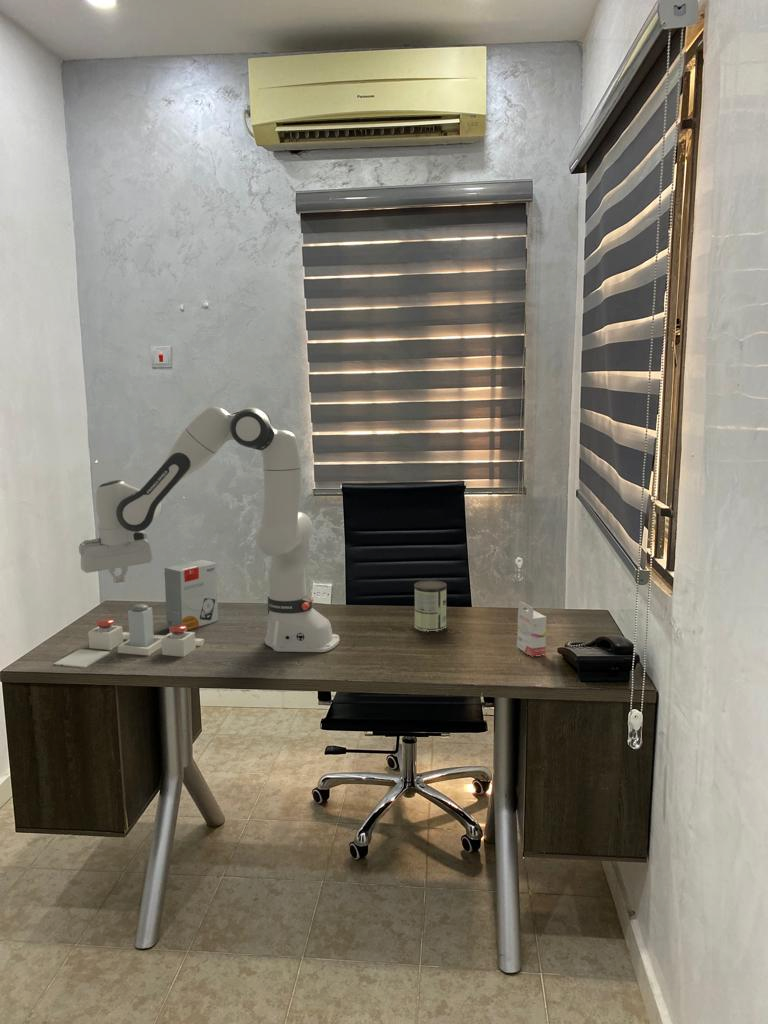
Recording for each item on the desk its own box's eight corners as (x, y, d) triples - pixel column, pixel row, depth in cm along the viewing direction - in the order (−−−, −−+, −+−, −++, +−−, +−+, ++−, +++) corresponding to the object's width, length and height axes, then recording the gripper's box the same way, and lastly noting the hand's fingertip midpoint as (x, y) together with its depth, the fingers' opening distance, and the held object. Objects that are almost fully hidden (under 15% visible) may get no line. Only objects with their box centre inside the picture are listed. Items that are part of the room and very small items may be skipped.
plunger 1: (118, 641, 243) (117, 618, 242) (109, 646, 239) (107, 624, 237) (103, 639, 245) (102, 617, 243) (94, 645, 240) (92, 622, 239)
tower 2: (195, 648, 238) (194, 632, 237) (184, 656, 232) (183, 640, 231) (174, 646, 240) (173, 630, 239) (162, 654, 233) (161, 638, 232)
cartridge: (154, 646, 241) (152, 604, 238) (145, 651, 236) (143, 609, 233) (139, 644, 242) (136, 603, 239) (130, 650, 237) (127, 608, 235)
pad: (109, 653, 235) (109, 651, 235) (85, 667, 223) (85, 666, 223) (79, 650, 237) (79, 649, 237) (53, 664, 226) (53, 663, 226)
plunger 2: (190, 647, 238) (189, 624, 236) (182, 653, 233) (181, 630, 232) (175, 646, 239) (174, 623, 238) (167, 652, 234) (165, 628, 233)
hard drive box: (181, 633, 252) (178, 571, 249) (165, 628, 257) (162, 567, 253) (219, 620, 265) (216, 561, 261) (203, 616, 269) (201, 558, 266)
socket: (204, 643, 243) (203, 637, 242) (183, 658, 230) (182, 652, 230) (110, 635, 250) (109, 629, 250) (84, 649, 238) (84, 643, 238)
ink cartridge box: (546, 656, 231) (548, 606, 229) (531, 658, 230) (533, 608, 227) (530, 646, 239) (532, 598, 237) (516, 648, 237) (517, 600, 235)
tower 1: (123, 642, 244) (122, 626, 243) (110, 649, 238) (109, 633, 237) (103, 640, 246) (102, 624, 245) (89, 647, 239) (88, 631, 238)
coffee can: (413, 621, 263) (414, 580, 260) (445, 621, 263) (445, 580, 260) (414, 632, 253) (414, 588, 250) (447, 632, 252) (447, 588, 250)
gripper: (81, 543, 226) (86, 590, 229) (152, 532, 238) (156, 578, 240) (75, 539, 231) (79, 586, 234) (145, 529, 243) (148, 574, 245)
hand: (119, 582), depth 237 cm, fingers closed
